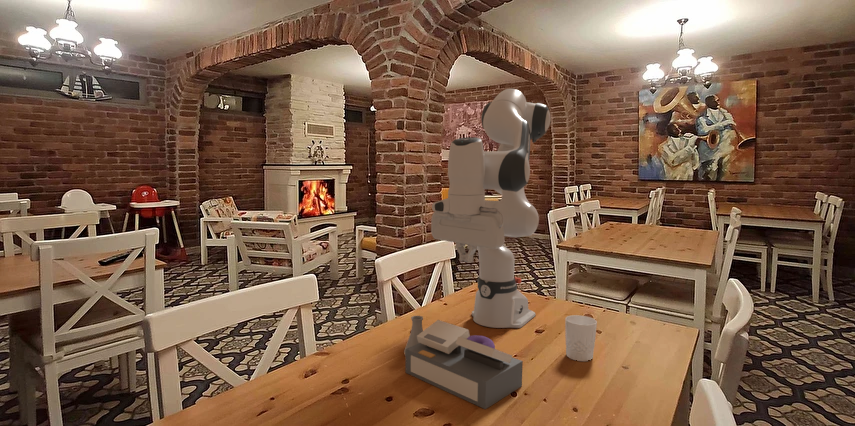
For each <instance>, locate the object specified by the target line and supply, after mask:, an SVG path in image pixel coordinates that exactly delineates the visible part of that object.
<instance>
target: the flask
mask: <svg viewBox="0 0 855 426" xmlns="http://www.w3.org/2000/svg"><path fill="white" fill-rule="evenodd" d="M423 320H424V316H422V315H413V316H411V324H412V325H411V330H410V334H409V336H408V340H407V342H406V344H405V348H404V350H403V353H404V354H403V355H404V356H405V357H406V349H407V348H409V347H412V346H414V345H417V344H419V342H418V340H417V335H419V334H420V333H421V332H423V331H424V329H423Z"/></svg>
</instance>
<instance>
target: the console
mask: <svg viewBox="0 0 855 426" xmlns="http://www.w3.org/2000/svg"><path fill="white" fill-rule="evenodd" d="M523 362H524V361H523V360H521V359H518V358H515V357H512V358H511V362H510V363H507V362H505V361H502V360H499V359H496V358H493V357H490V356H487V355H485V354H482V353H479V352H476V351H473V350H471V349H468V348H465V347H462V346H460V345H459V346H458V347H456V348H455V349H454V350H453V351H452V352H451V353H450V354H447V353H445V352H442V351H439V350H437V349H434V348H432V347H429V346H427V345H424V344H421V343H419V344H417V345H414V346H412V347H409V348H407V349H406V356H405V373H406V374H408V375H410V376H412V377H414V378H417V379H418V380H421V381H423V382H425V383H428V384H430V385H432V386H434V387H436V388H438V389H440V390H442V391H445V392H447V393H449V394H451V395H454V396H456V397H457V398H460V399H462V400H464V401H467V402H469V404H470V403H471V404H473V405H475V406H477V407H479V408H482V409H484V410H486V409H488V408H490V407H491V406H493V405H495V404H496V403H497V402H499V401H501V400H502V399H504V398H505V397H507V396H508V395H511V394H513V392H515V391H517V390H518V389H520V388H521V387H523V365H524V364H523Z"/></svg>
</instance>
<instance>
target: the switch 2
mask: <svg viewBox="0 0 855 426" xmlns="http://www.w3.org/2000/svg"><path fill="white" fill-rule="evenodd" d="M456 344H457V345H460V346H462V347H465V348H468V349H471V350H473V351H476V352H479V353H482V354H485V355H487V356H490V357H493V358H496V359H499V360H502V361H505V362H507V363H510V362H511V358H513V355H512V354H510V353H507V352H504V351H501V350H499V349H496V348H495V349H494V348H491V347H489V346H486V345H483V344H480V343H477V342H474V341H471V340H468V339H464V338H462V337H459V336H458V338H457V341H456Z"/></svg>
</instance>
